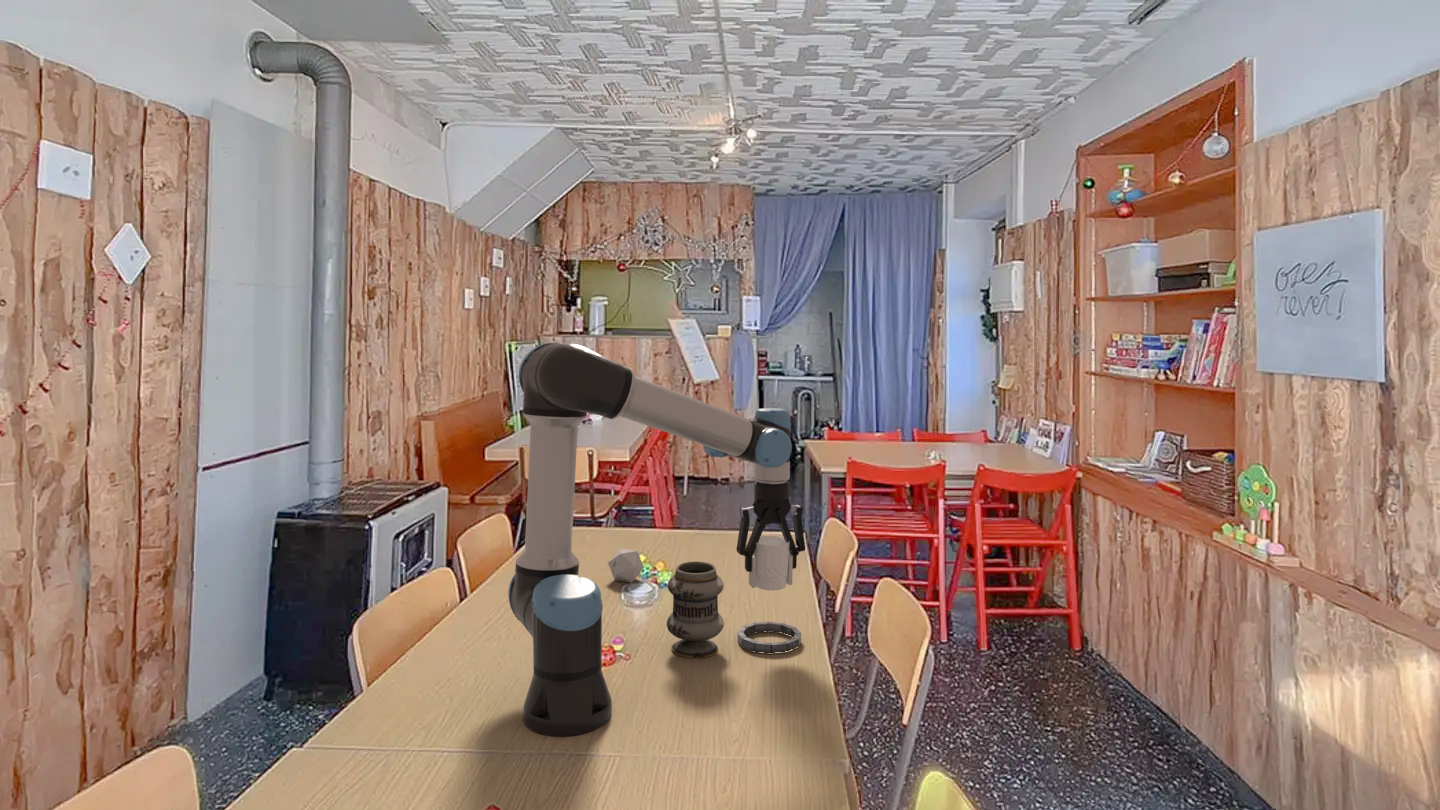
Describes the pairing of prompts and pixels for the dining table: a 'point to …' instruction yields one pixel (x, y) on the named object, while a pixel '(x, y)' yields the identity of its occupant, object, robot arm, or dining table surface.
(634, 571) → the die
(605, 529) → the dining table surface
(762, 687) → the dining table surface
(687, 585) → the apothecary jar
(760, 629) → the collar ring
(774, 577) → the white cup
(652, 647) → the dining table surface
